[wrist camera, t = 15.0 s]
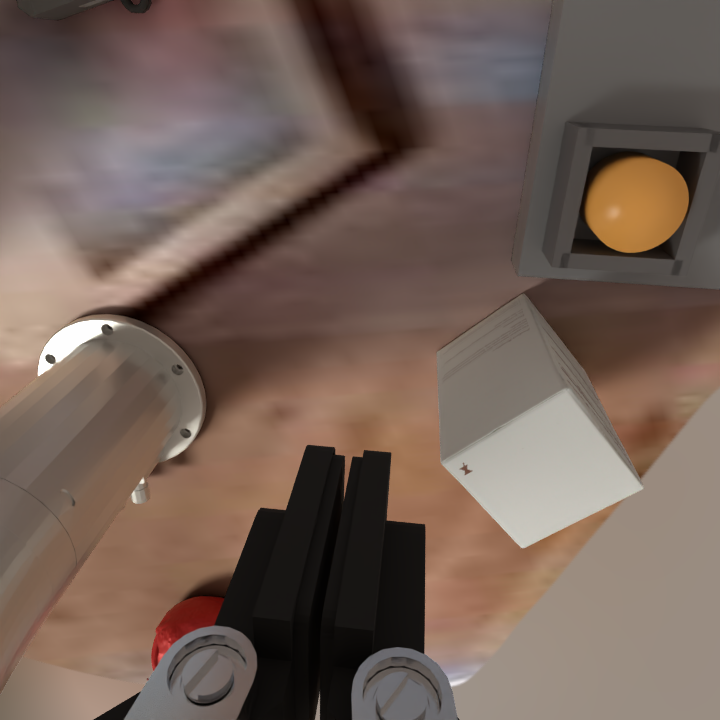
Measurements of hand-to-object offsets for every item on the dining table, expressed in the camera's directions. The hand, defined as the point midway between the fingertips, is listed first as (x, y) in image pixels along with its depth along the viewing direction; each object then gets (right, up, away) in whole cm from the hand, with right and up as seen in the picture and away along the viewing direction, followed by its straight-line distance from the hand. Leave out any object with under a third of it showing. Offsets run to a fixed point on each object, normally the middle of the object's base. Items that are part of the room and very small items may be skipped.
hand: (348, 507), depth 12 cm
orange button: (+14, +12, +19) cm, 26 cm away
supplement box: (+10, +3, +28) cm, 30 cm away
